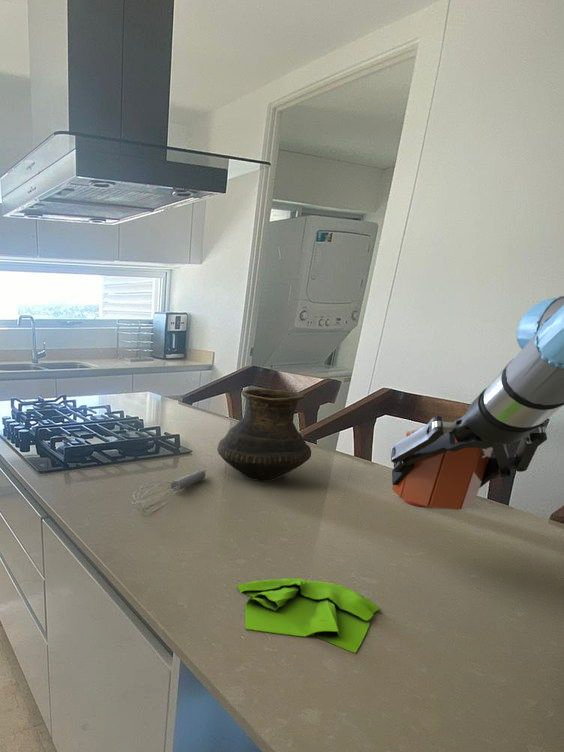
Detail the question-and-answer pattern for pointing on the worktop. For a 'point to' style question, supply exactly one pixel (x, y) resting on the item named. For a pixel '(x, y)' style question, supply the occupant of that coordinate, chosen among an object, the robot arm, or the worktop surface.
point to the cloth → (308, 610)
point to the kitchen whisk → (176, 485)
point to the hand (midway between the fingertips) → (432, 480)
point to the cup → (445, 478)
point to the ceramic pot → (266, 436)
